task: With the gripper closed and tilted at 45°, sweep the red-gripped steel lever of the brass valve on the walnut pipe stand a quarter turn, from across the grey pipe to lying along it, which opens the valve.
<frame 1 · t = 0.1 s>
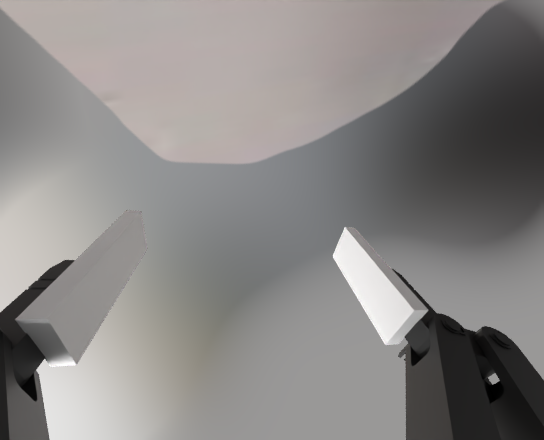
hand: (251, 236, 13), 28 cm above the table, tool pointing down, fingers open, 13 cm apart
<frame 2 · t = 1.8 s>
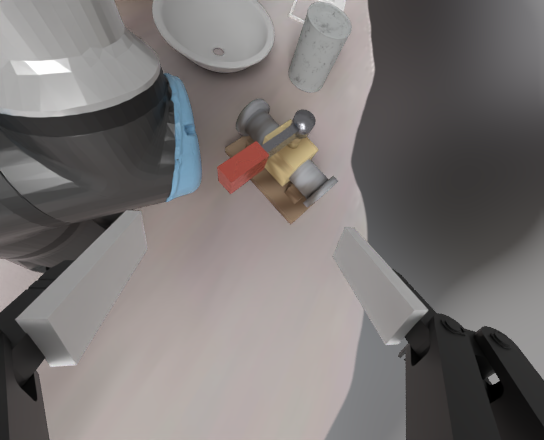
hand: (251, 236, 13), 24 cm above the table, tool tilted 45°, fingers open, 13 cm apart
valve stand: (276, 173, 42), on the table
photo frame: (317, 11, 59), on the table
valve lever: (269, 149, 27), point 14 cm above the table, hinge at 0.0°
sink basin: (218, 53, 47), on the table
speckled concrete cylinder: (305, 77, 51), on the table
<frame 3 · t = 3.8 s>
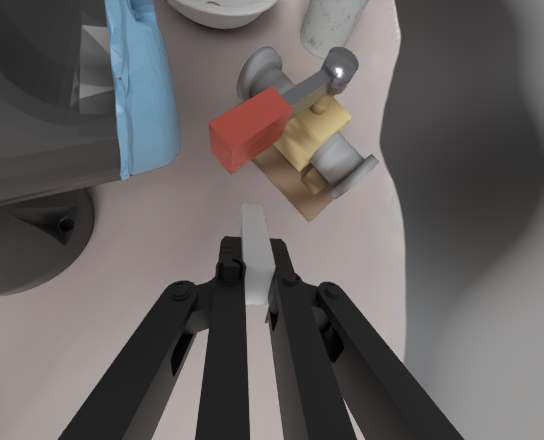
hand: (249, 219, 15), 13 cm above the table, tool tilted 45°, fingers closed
valve stand: (289, 156, 33), on the table
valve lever: (290, 105, 17), point 14 cm above the table, hinge at 0.0°
sink basin: (213, 8, 37), on the table
speckled concrete cylinder: (321, 42, 42), on the table
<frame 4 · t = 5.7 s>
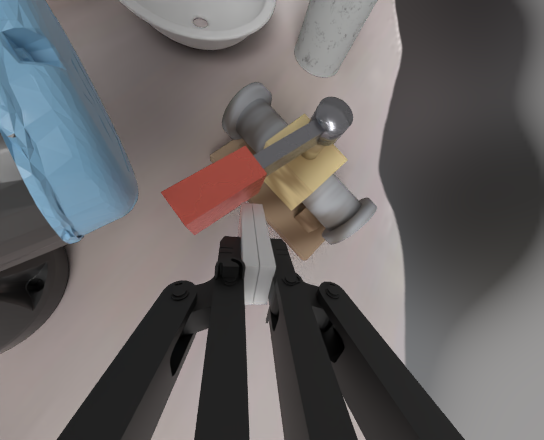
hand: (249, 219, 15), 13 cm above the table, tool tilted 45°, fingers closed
valve stand: (281, 188, 31), on the table
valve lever: (270, 160, 15), point 14 cm above the table, hinge at 5.9°, touching gripper
sink basin: (200, 25, 35), on the table
speckled concrete cylinder: (316, 58, 39), on the table
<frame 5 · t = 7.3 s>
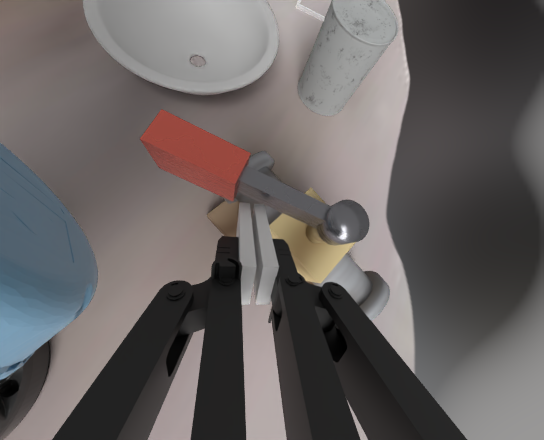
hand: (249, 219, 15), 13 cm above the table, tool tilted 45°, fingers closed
valve stand: (284, 244, 29), on the table
photo frame: (333, 0, 44), on the table
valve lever: (263, 190, 14), point 14 cm above the table, hinge at 66.0°, touching gripper
sink basin: (198, 63, 33), on the table
speckled concrete cylinder: (321, 94, 37), on the table
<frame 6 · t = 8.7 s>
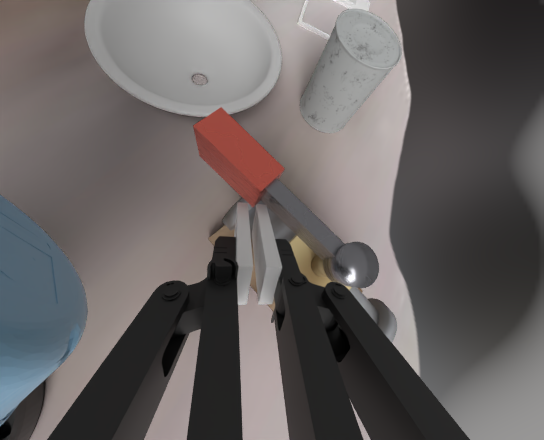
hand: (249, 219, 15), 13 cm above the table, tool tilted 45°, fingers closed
valve stand: (286, 266, 28), on the table
photo frame: (334, 16, 45), on the table
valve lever: (284, 206, 15), point 14 cm above the table, hinge at 86.1°, touching gripper
sink basin: (199, 81, 32), on the table
speckled concrete cylinder: (323, 111, 37), on the table
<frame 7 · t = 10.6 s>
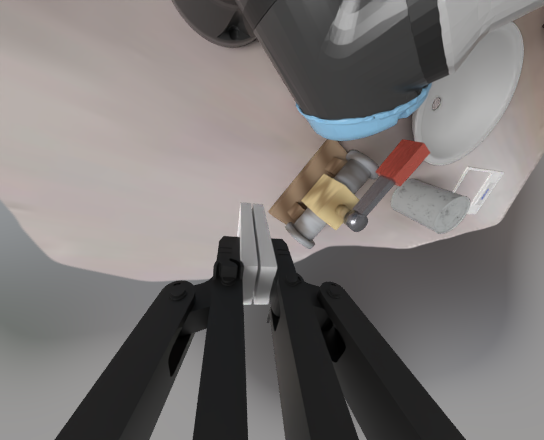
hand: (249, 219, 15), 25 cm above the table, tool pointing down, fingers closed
valve stand: (313, 189, 45), on the table
photo frame: (468, 191, 63), on the table
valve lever: (379, 188, 32), point 14 cm above the table, hinge at 86.0°
sink basin: (434, 103, 44), on the table
speckled concrete cylinder: (404, 195, 55), on the table
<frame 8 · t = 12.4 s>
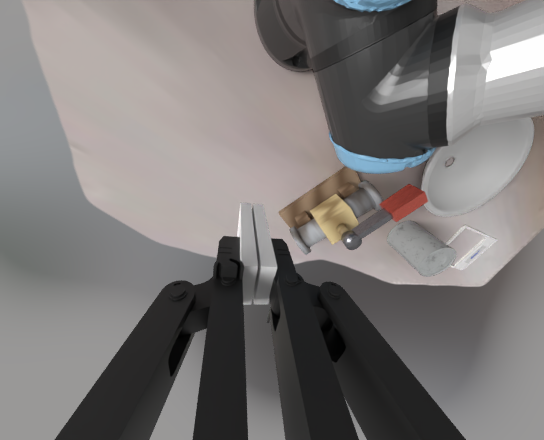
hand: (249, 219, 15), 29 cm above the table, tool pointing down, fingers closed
valve stand: (322, 204, 50), on the table
photo frame: (460, 248, 68), on the table
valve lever: (378, 218, 37), point 14 cm above the table, hinge at 86.0°
sink basin: (448, 161, 49), on the table
speckled concrete cylinder: (402, 233, 60), on the table
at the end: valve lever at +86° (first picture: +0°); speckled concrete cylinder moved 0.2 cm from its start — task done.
